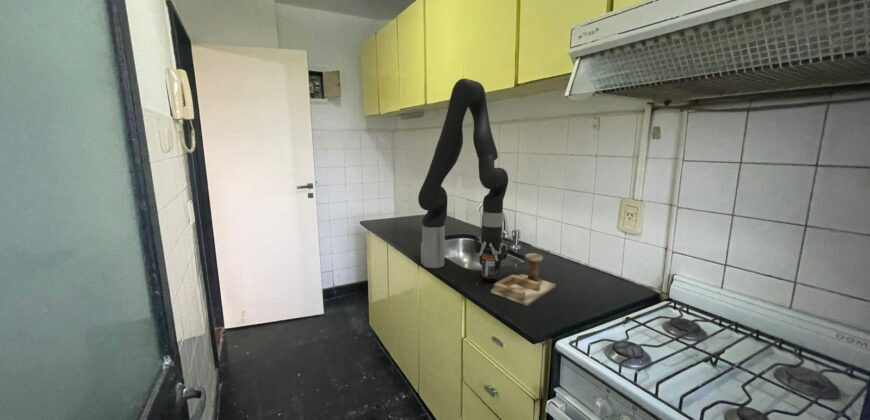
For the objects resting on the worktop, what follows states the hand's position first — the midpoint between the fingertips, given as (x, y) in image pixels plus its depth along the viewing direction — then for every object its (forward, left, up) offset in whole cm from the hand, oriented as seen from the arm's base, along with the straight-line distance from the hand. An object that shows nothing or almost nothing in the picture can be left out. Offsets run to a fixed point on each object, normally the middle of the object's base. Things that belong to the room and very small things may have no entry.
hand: (489, 267), depth 131 cm
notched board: (+13, +2, -5) cm, 15 cm away
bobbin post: (+13, +8, -5) cm, 17 cm away
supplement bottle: (0, 0, -4) cm, 4 cm away
